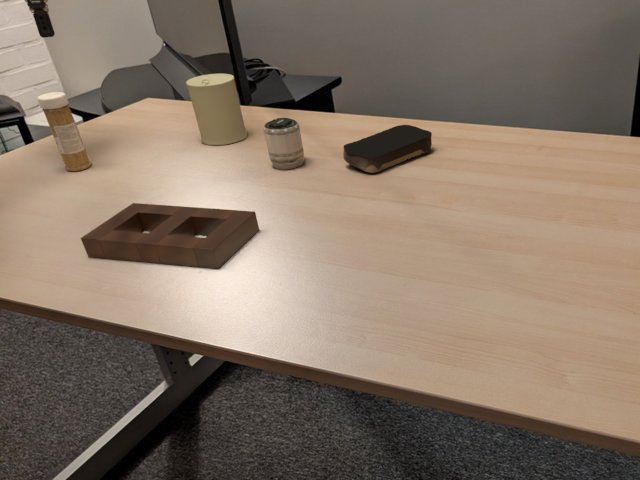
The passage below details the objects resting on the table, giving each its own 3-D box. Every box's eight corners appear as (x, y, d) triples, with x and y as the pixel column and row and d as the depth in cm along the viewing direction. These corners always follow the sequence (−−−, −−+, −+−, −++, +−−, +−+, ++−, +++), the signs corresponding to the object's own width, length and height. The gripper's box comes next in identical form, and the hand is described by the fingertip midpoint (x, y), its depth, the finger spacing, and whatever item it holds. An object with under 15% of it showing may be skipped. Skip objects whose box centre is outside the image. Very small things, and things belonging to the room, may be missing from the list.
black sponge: (406, 141, 127) (404, 122, 125) (436, 151, 122) (435, 131, 120) (340, 166, 118) (337, 146, 116) (370, 177, 113) (367, 157, 111)
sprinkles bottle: (67, 165, 125) (38, 93, 117) (93, 161, 126) (66, 89, 118) (64, 173, 121) (34, 99, 113) (91, 169, 122) (63, 96, 114)
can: (194, 146, 130) (177, 84, 123) (210, 131, 138) (194, 71, 131) (240, 144, 130) (225, 82, 123) (252, 129, 137) (239, 70, 130)
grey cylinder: (264, 168, 119) (255, 125, 114) (282, 156, 123) (273, 114, 119) (295, 171, 117) (286, 127, 112) (311, 159, 122) (304, 116, 117)
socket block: (88, 257, 93) (80, 238, 92) (139, 220, 103) (132, 202, 101) (218, 269, 89) (213, 249, 87) (259, 229, 98) (255, 211, 96)
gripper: (-9, -65, 113) (26, 38, 120) (-17, -75, 102) (22, 39, 109) (40, -66, 116) (71, 34, 123) (37, -76, 104) (71, 35, 112)
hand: (48, 36), depth 116 cm, fingers open, 8 cm apart
